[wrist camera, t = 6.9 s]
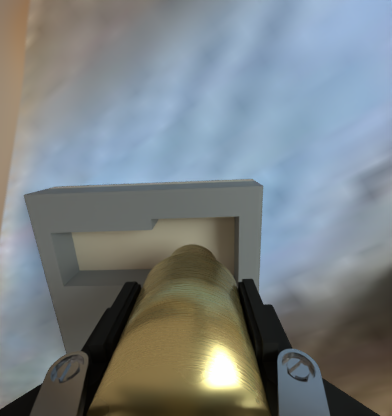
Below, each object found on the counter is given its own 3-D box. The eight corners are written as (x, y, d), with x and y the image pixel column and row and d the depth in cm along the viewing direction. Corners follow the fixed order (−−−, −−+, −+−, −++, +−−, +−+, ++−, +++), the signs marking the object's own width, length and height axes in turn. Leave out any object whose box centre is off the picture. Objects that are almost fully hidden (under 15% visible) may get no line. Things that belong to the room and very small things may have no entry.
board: (55, 186, 17) (23, 194, 14) (252, 179, 17) (263, 186, 14) (90, 340, 22) (71, 372, 19) (247, 340, 21) (255, 373, 18)
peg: (151, 232, 14) (68, 368, 5) (231, 231, 14) (283, 369, 5) (157, 299, 15) (98, 498, 7) (230, 299, 15) (269, 502, 6)
